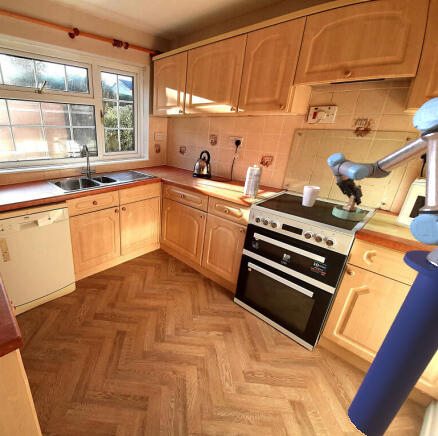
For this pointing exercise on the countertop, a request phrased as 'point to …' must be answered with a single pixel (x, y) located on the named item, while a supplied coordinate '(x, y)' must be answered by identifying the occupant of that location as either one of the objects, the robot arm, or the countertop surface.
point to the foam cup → (310, 195)
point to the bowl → (348, 214)
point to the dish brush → (350, 205)
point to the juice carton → (252, 181)
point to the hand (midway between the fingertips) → (356, 203)
